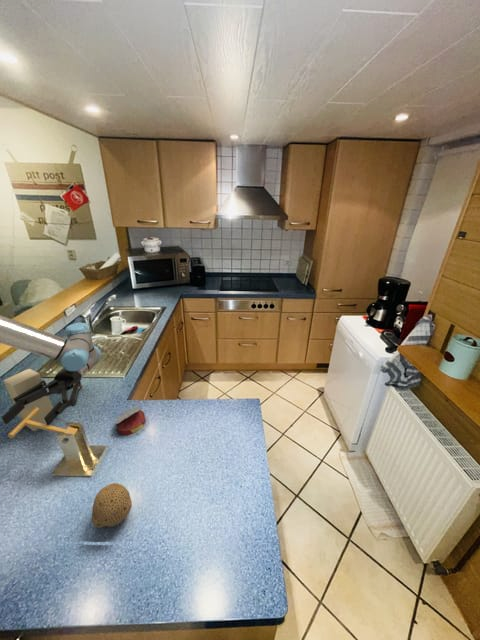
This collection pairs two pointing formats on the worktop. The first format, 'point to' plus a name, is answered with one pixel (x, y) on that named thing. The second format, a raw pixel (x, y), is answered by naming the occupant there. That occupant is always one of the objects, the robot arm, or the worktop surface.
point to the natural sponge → (111, 505)
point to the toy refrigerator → (21, 385)
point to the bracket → (77, 454)
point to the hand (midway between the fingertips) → (25, 421)
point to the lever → (40, 425)
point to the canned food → (130, 421)
